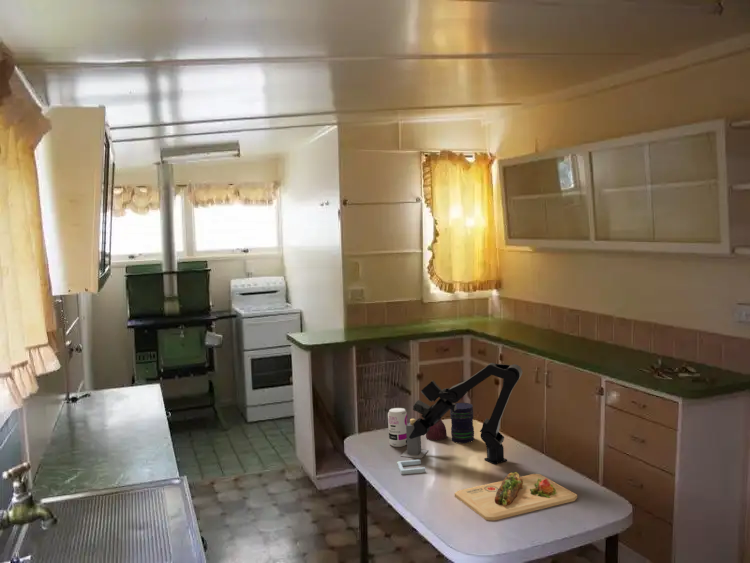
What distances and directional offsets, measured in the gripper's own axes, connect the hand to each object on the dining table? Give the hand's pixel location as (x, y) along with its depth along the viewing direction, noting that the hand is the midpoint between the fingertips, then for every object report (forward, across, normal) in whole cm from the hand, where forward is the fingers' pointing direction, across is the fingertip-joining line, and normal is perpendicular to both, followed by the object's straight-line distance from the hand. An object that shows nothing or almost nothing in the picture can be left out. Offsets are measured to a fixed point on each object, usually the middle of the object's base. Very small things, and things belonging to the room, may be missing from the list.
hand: (413, 434), depth 266 cm
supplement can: (+13, -10, -1) cm, 16 cm away
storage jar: (-5, -22, +16) cm, 27 cm away
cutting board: (-27, +32, +39) cm, 57 cm away
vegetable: (+4, -22, +8) cm, 24 cm away
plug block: (+5, 0, +6) cm, 8 cm away
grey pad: (+6, 0, +6) cm, 8 cm away
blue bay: (+2, +16, +9) cm, 18 cm away
